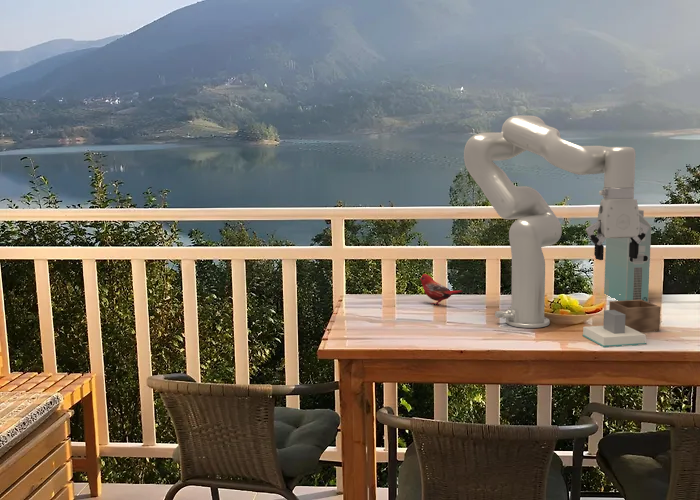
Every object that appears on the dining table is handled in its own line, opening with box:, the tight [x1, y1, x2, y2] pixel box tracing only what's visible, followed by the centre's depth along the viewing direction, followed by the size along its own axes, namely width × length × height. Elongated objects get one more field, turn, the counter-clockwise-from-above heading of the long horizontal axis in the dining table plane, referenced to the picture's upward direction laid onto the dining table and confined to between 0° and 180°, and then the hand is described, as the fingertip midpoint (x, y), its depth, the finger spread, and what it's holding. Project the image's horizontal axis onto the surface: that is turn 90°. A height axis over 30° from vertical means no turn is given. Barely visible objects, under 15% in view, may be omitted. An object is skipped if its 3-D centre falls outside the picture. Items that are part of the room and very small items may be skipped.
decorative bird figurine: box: [419, 273, 463, 306], centre depth 255 cm, size 3×18×10 cm, turn 46°
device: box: [603, 209, 652, 302], centre depth 260 cm, size 16×8×30 cm, turn 7°
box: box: [608, 300, 661, 333], centre depth 223 cm, size 10×10×7 cm
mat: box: [582, 334, 647, 348], centre depth 210 cm, size 12×12×1 cm
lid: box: [582, 309, 647, 346], centre depth 210 cm, size 12×12×7 cm
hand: (616, 258), depth 207 cm, fingers open, 9 cm apart
